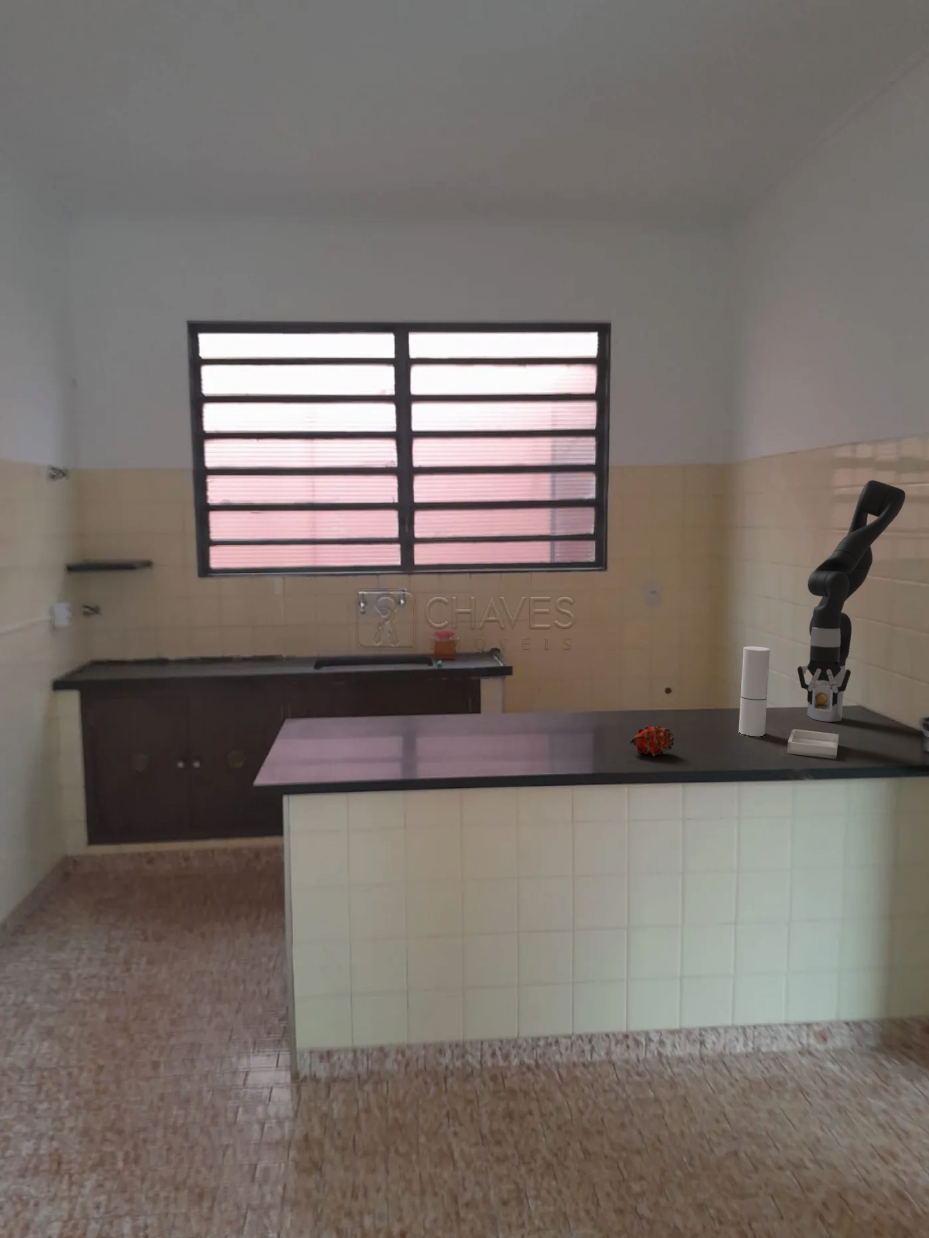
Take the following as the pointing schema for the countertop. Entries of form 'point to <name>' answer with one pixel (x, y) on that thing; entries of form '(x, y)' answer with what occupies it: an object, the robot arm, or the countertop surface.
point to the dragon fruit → (653, 740)
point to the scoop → (828, 692)
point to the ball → (821, 699)
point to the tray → (813, 743)
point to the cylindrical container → (754, 690)
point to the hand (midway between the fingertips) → (822, 704)
